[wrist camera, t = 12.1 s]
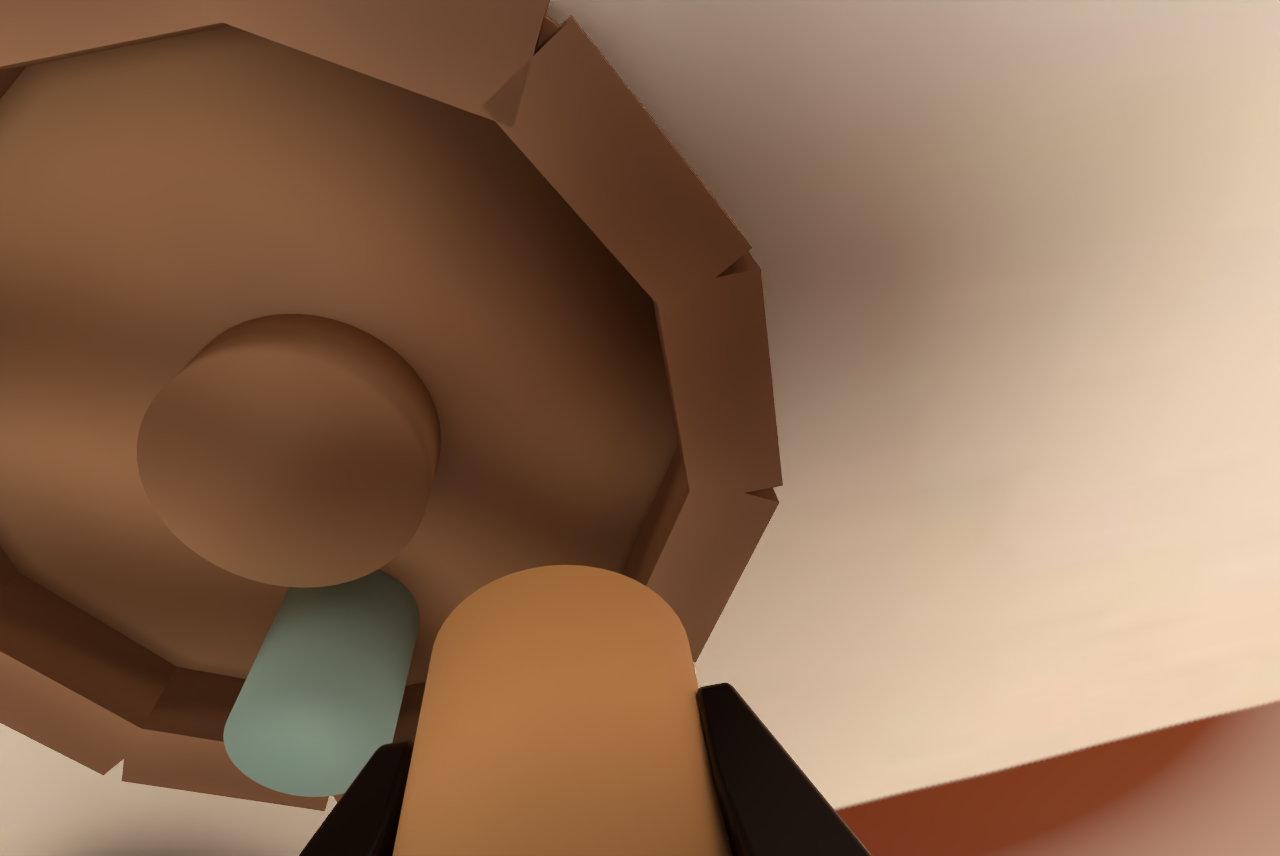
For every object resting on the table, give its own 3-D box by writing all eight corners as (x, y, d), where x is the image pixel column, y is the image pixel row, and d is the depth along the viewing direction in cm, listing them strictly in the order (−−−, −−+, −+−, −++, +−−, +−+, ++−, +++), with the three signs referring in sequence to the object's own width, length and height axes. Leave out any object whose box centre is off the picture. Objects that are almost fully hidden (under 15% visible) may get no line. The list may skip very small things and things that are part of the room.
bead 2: (736, 612, 10) (829, 927, 7) (622, 780, 12) (650, 1117, 8) (488, 529, 9) (444, 845, 6) (394, 722, 11) (314, 1076, 7)
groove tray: (593, 757, 26) (597, 851, 23) (-133, 628, 21) (-241, 727, 18) (891, 136, 17) (955, 165, 14) (-222, -315, 12) (-452, -405, 10)
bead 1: (410, 559, 20) (377, 681, 16) (427, 660, 21) (400, 791, 18) (269, 566, 20) (204, 691, 16) (297, 668, 21) (244, 802, 18)
